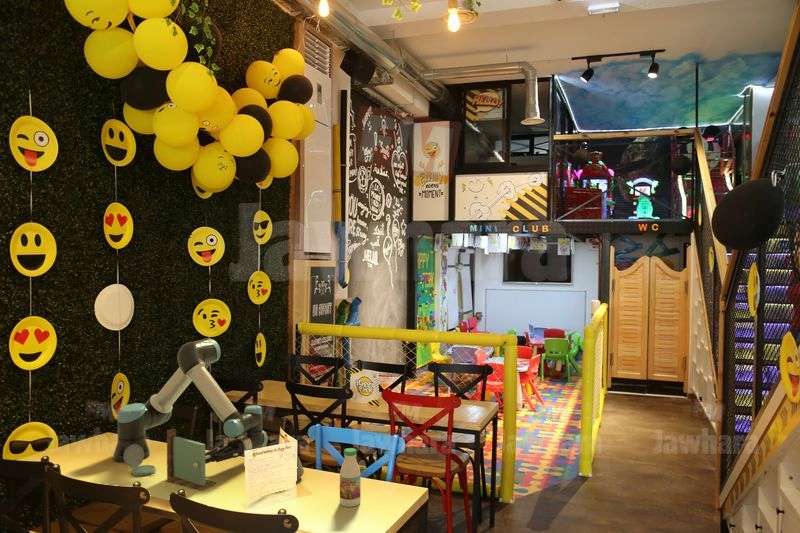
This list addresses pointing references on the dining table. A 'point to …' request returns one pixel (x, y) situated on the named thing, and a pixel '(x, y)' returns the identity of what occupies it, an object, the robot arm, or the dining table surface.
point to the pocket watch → (137, 461)
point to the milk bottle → (350, 480)
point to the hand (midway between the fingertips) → (197, 463)
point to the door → (189, 460)
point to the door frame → (170, 477)
